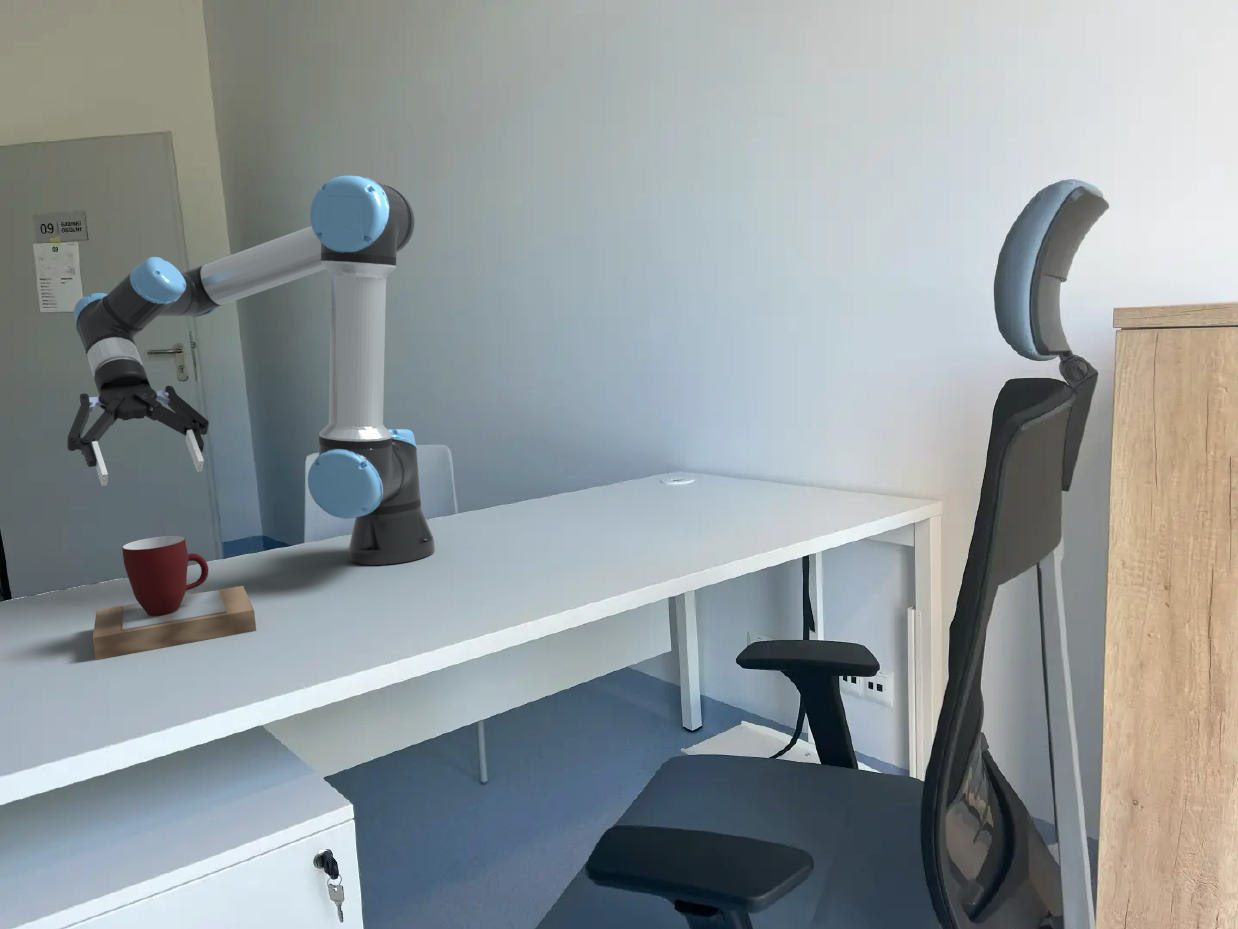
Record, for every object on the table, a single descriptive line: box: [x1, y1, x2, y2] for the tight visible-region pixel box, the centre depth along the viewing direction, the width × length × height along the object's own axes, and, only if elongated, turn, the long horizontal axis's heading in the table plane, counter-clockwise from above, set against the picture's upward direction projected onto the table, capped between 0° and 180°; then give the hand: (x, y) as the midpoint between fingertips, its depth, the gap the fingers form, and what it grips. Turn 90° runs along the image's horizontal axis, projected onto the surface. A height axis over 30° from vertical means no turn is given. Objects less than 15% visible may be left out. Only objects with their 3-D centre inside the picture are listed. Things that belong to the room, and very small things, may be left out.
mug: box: [121, 535, 209, 616], centre depth 136 cm, size 11×8×10 cm
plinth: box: [92, 585, 257, 661], centre depth 138 cm, size 20×15×3 cm
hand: (154, 473), depth 148 cm, fingers open, 13 cm apart
